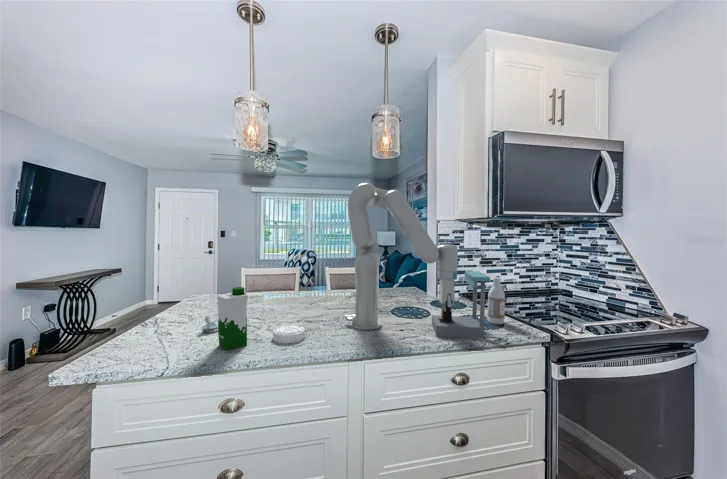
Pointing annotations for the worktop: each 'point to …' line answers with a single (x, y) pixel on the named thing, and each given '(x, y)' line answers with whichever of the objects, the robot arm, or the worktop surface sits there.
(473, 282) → the teal-topped post gate
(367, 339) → the worktop surface
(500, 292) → the bath foam
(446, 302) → the peg
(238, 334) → the milk carton
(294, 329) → the mooncake
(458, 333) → the socket block
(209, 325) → the pacifier
